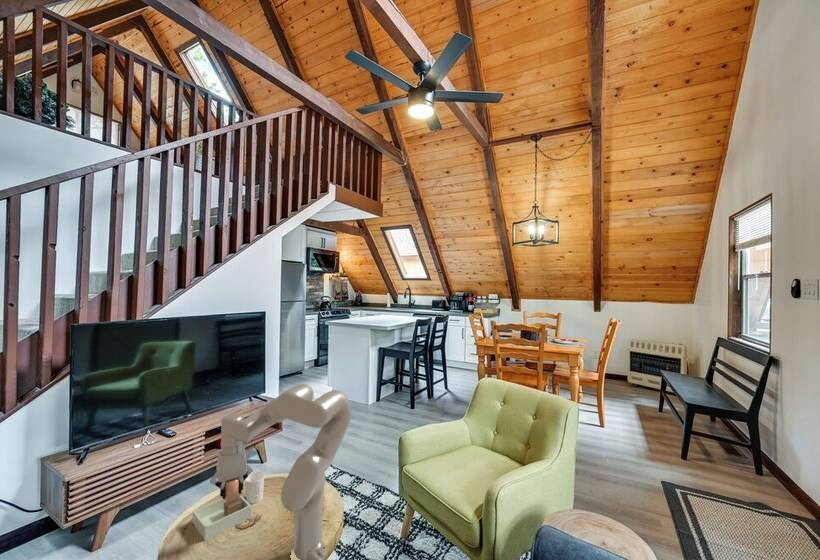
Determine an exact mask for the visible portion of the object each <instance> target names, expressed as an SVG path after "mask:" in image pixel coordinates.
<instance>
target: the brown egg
mask: <svg viewBox="0 0 820 560" xmlns="http://www.w3.org/2000/svg"><path fill="white" fill-rule="evenodd" d="M224 486H225V500H226V501H233V500H235V499H237V498H238V497H239V477H237V478H234V479H230V480H227V481H226V482H225V485H224Z"/></svg>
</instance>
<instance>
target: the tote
mask: <svg viewBox="0 0 820 560" xmlns="http://www.w3.org/2000/svg"><path fill="white" fill-rule="evenodd" d="M238 499H239V500H240V501H241V502H242V509H241V510H239V511H237V512H235V513H232V514H230V515H228V516H225V515H224V502H226V500H225V499H223V498H219V499H217V500H215V501H213V502H211V503H207V504H206V505H204V506H202V507H199V508H197V509H194V510H193V511H192V525H193V524H194V525H193V526H194V527H195V529H196V531H198V533H199V535H200V536H201V537H202V539H203V541H204V542H205V541H208V540H209V539H211V538H214V537H215V536H217V535H219V534H221V533H223V532H225V531H227V530H229V529H232V528H233V527H236V526H237V525H239V524H241V523H244V522H245V521H247V520H249V519H251V518H252V504H249V503H248V502H247V501H246V498H244V497H243V496H242V494H239V497H238Z"/></svg>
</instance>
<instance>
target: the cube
mask: <svg viewBox="0 0 820 560" xmlns="http://www.w3.org/2000/svg"><path fill="white" fill-rule="evenodd" d="M241 509H242V502H241V501H240V500H239V499H238V498H237V499H235V500H233V501H226V502H224V515H225V516H228V515H230V514H232V513H235V512H237V511H239V510H241Z"/></svg>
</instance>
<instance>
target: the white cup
mask: <svg viewBox="0 0 820 560" xmlns="http://www.w3.org/2000/svg"><path fill="white" fill-rule="evenodd" d="M244 486H245V487H244V490H245V500H246V501H247V502H248V503H249V504H250V505H253V504H257V503H259V502H261V501H262V500H263V498H264V490H265V489H264V487H265V473H264V472H262V471H254V472H253V471H252V473H251V474H250V475H248V477H247V478H246V479H245V481H244Z"/></svg>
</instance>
